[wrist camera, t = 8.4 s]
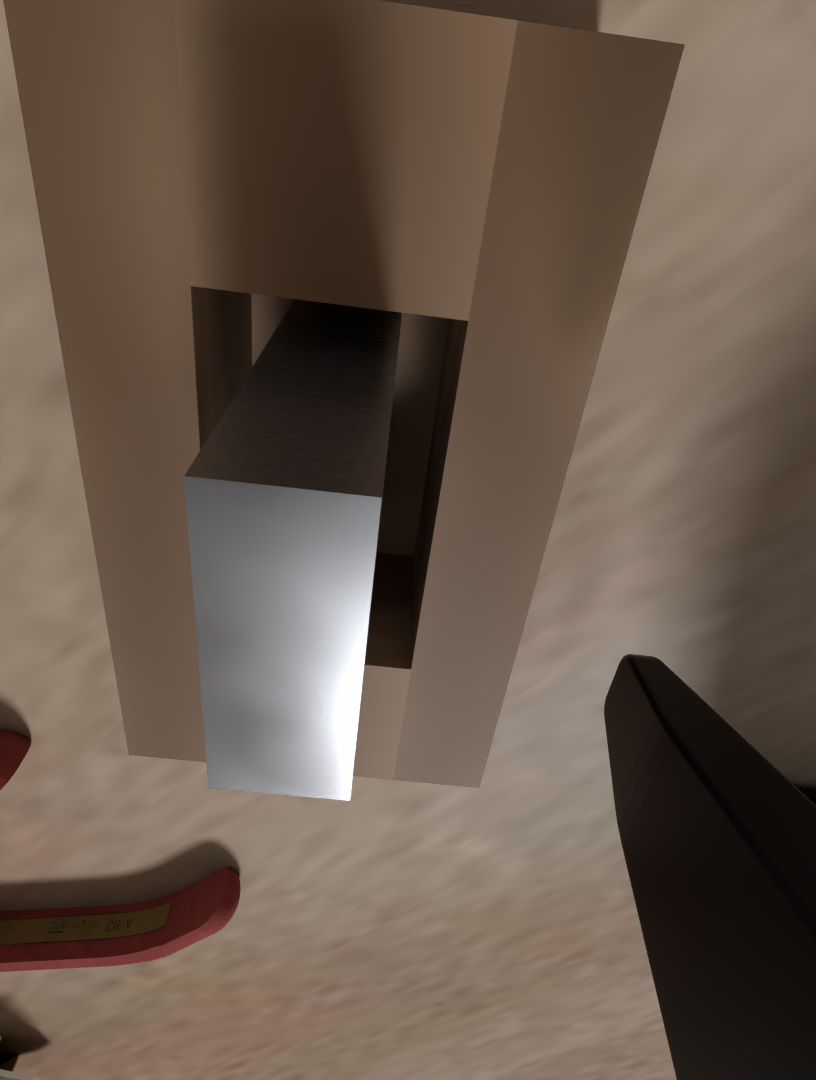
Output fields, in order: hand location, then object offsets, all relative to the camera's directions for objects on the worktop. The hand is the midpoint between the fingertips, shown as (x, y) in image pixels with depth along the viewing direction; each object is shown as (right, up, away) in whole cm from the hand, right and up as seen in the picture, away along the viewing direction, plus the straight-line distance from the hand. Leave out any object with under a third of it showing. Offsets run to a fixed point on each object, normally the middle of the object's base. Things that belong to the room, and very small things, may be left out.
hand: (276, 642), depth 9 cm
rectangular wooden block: (0, +5, +7) cm, 9 cm away
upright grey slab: (0, +4, +6) cm, 8 cm away
